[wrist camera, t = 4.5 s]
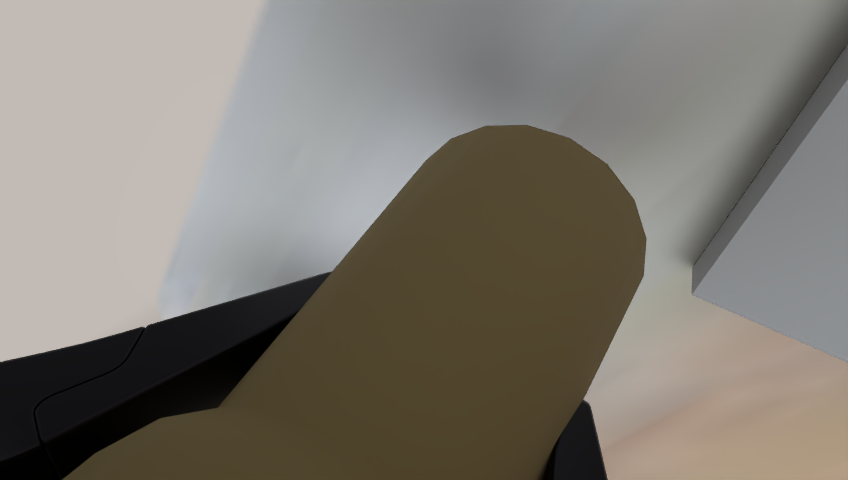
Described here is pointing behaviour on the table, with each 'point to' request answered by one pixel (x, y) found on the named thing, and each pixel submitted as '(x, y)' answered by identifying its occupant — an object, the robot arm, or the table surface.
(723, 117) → the table surface
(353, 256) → the cork
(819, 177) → the plinth
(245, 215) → the table surface
